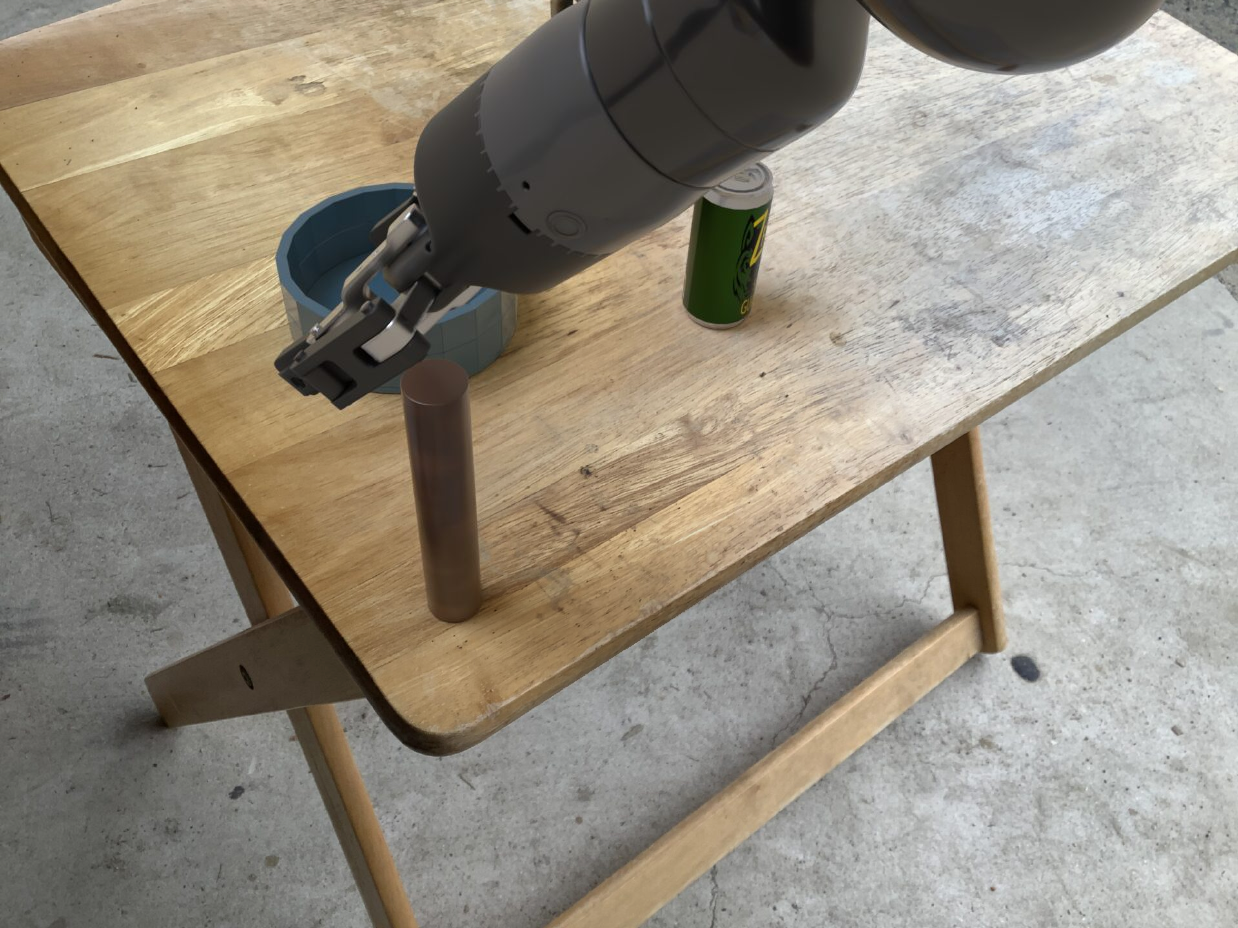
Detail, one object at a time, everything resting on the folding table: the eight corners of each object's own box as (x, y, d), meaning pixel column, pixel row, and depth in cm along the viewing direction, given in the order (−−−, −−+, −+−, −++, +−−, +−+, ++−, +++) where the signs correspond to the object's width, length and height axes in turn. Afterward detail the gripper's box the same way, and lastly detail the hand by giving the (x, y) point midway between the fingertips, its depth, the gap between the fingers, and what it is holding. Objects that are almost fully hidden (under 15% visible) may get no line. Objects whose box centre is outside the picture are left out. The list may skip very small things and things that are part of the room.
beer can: (678, 327, 82) (696, 192, 73) (683, 282, 86) (700, 148, 77) (749, 335, 82) (776, 201, 73) (751, 290, 86) (776, 157, 77)
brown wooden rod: (433, 628, 63) (407, 410, 50) (422, 584, 65) (394, 364, 52) (487, 615, 64) (475, 398, 51) (475, 573, 66) (460, 353, 53)
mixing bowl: (306, 413, 74) (292, 347, 70) (278, 264, 84) (263, 199, 80) (542, 370, 78) (543, 306, 74) (488, 234, 88) (485, 170, 84)
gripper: (573, -40, 40) (353, 154, 51) (400, 195, 32) (183, 364, 43) (703, 114, 43) (468, 265, 55) (575, 364, 35) (330, 480, 46)
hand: (342, 309), depth 49 cm, fingers open, 8 cm apart
